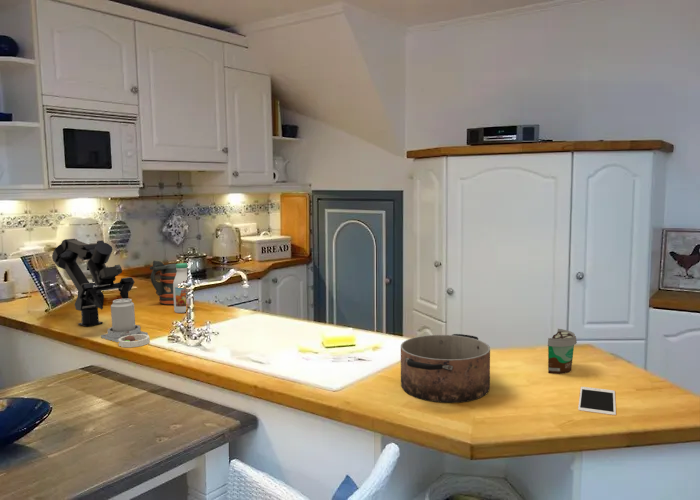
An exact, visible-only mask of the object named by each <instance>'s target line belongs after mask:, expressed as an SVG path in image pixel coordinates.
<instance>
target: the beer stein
mask: <svg viewBox="0 0 700 500" xmlns="http://www.w3.org/2000/svg"><path fill="white" fill-rule="evenodd" d="M176 264H177V263H168V264H164V263H163V262H161V261H158V260H153V262H152V266H149V270H150V271H151V274H150V281H151V285H152V286H153V288H154V289H155V293H156V294H157V296H158V300H159V303H160V304H161V305H167V306H168V305H170V306H174V295H173V282H174V279H175V276H176V273H177V269H176ZM159 271H160V276H159V278H160V279H159V281H157V280H156V273H158V272H159Z"/></svg>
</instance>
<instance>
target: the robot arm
mask: <svg viewBox="0 0 700 500" xmlns="http://www.w3.org/2000/svg"><path fill="white" fill-rule="evenodd" d="M113 250H114V249H113V246H112V245H110V244H109V243H108V242H104V240H97V241H96V243H86V242H83V241H80V240H78V239H77V238H76V239H75V238H68V239H67V238H66V239H64V240H62V241H61V243H60V244H59V245H57V246H56V247H55V248H54V249H53V252H52V256H51V258H52V261H53V262H54V264H55V265H56V266H57V267H58V268H60V269H63V270H65V272H66V274H67V275H68V277H69V279H70V280H71V282H72V283H73V285H74V286H75V288H76V290H77V297H76V300H75V303H74V307H75V310H77V311H79V312H81V313H80V316H81V322H78V323H77V325H78V326H83V327H86V328H88V327H92V326H93V327H94V326H97V325H100V324H103V321H101V320H100V319H99V318H100V317H99V309H100V310H103V309H104V300H105V295H104V293H103V291H105V292H106V291H110V290H115V289H118V292H119V295H120V297H121V299H129V292H130V291H132V288H133V287H134V284H135V279H134V278H133V277H130V276H128V277H121V278H120V280H119V282H115V281H116V279H117V278H116V277H117V276H119V275H121V274H122V273H123V269H122V266H121V265H120V264H114V265H113V266H107V265H106V264H107V263H108V262H109V261H110V257H111V255H112V252H113ZM78 258H79V259H80V260H82V261H87V260H88V261H87V263H86V271H89V273H90V275H91V277H92V278H91V282H90V281H89V279H88V278H87V277H86V275H85V274H84V272H83V270H82V269H81V267H80V266H79V264H78V262H77V261H78Z"/></svg>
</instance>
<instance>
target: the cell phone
mask: <svg viewBox="0 0 700 500" xmlns="http://www.w3.org/2000/svg"><path fill="white" fill-rule="evenodd" d="M579 391H580V392H579V399H578V406H577V410H578V412H579V411H580V412H586V413H594V414H601V415H607V416H608V415H609V416H617V412H616V411H617V408H616V405H617V404H616V391H615V390H612V389H605V388H597V387H588V386H580V390H579Z"/></svg>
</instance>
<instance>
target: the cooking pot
mask: <svg viewBox="0 0 700 500" xmlns="http://www.w3.org/2000/svg"><path fill="white" fill-rule="evenodd" d="M400 385H401V388H402V390H403V391H404V392H406V394H408V395H410V396H411V397H414V398H417V399H420V400H423V401H429V402H433V403H442V404H443V403H445V404H447V403H448V404H454V403H458V404H459V403H466V402H472V401H475V400H478V399H481V398H482V397H484V396H485V395H487V394H488V393H489V391H490V388H491V387H490V385H491V347H490V346H489V344H487V343H486V342H484V341H482V340H479V338H478V336H475V335H470V334H462V333H461V334H460V333H453V334H451V335H450V334H426V335H421V336H416V337H411V338H408V339H406V340H404V341H403V342H402V343H401V344H400Z"/></svg>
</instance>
